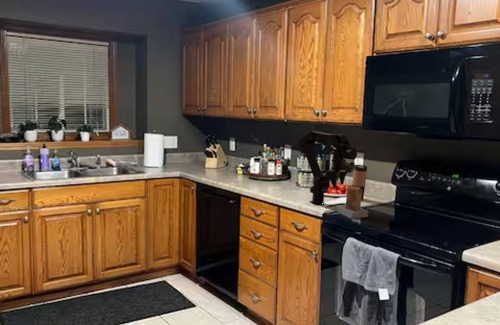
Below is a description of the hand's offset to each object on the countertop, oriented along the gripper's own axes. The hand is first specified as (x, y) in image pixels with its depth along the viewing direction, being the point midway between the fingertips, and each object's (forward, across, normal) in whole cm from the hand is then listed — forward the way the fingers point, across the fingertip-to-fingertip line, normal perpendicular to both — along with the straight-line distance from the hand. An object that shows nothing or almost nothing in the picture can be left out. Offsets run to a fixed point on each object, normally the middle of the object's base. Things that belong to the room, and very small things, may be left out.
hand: (338, 186), depth 237 cm
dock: (+14, -2, -9) cm, 16 cm away
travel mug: (+15, +29, +2) cm, 33 cm away
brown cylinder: (+11, -2, -9) cm, 14 cm away
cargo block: (+2, -1, -10) cm, 10 cm away
